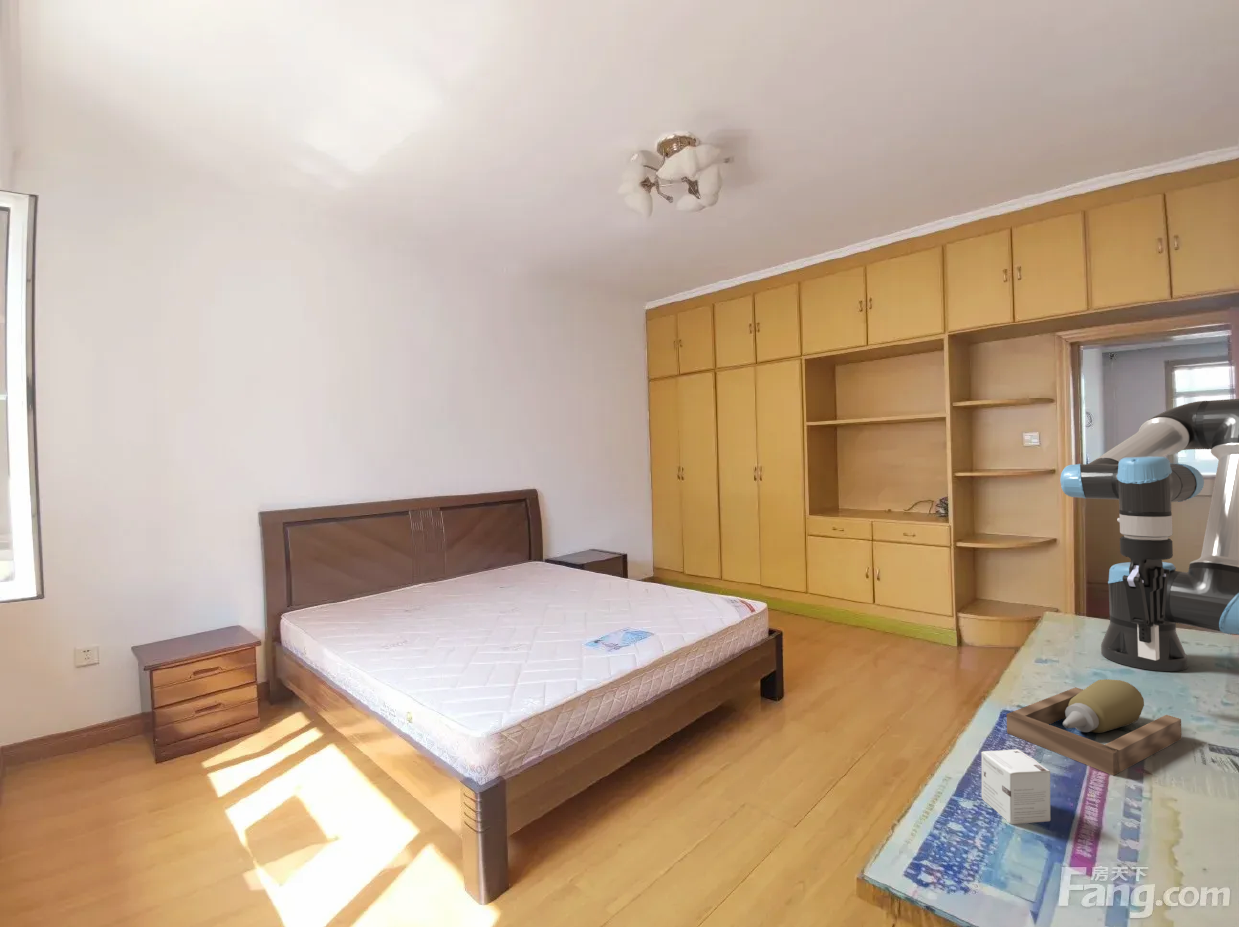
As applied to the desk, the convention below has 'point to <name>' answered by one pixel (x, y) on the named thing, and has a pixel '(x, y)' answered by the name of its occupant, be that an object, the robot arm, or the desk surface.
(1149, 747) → the bottle rest
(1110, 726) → the squeeze bottle
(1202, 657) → the desk surface
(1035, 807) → the skincare box
